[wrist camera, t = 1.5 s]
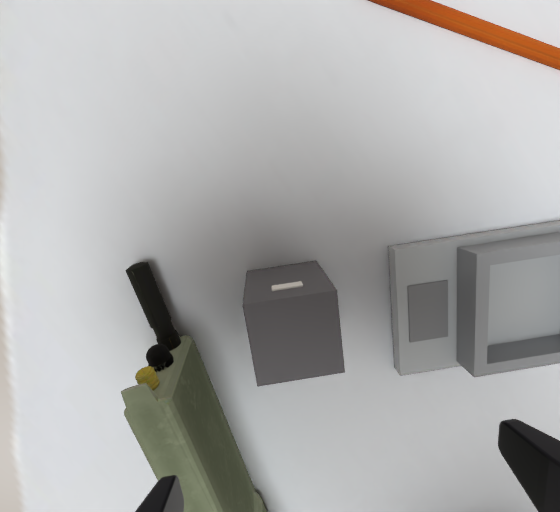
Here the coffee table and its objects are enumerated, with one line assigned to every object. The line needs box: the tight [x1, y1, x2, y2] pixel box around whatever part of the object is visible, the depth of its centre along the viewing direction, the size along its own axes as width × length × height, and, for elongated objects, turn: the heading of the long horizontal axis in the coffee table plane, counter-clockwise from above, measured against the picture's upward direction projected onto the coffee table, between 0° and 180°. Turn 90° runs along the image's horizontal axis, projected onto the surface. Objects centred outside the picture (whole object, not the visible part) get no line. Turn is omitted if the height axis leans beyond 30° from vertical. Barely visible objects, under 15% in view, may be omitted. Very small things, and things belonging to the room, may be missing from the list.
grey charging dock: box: [388, 220, 560, 377], centre depth 20 cm, size 9×14×3 cm, turn 98°
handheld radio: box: [121, 262, 267, 512], centre depth 19 cm, size 7×3×25 cm
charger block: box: [243, 261, 345, 386], centre depth 18 cm, size 5×4×6 cm
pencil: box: [368, 0, 560, 70], centre depth 17 cm, size 1×19×1 cm, turn 75°
